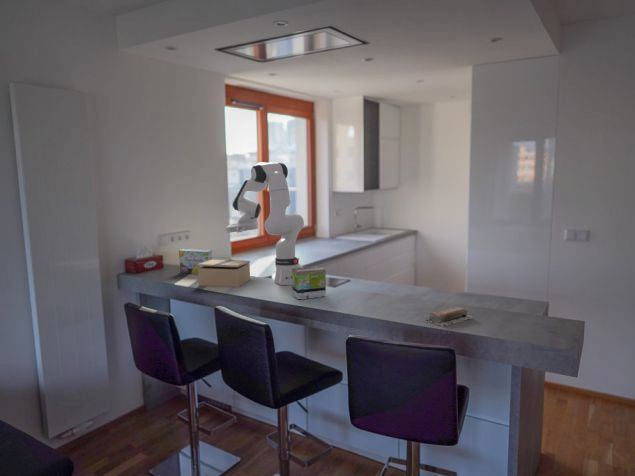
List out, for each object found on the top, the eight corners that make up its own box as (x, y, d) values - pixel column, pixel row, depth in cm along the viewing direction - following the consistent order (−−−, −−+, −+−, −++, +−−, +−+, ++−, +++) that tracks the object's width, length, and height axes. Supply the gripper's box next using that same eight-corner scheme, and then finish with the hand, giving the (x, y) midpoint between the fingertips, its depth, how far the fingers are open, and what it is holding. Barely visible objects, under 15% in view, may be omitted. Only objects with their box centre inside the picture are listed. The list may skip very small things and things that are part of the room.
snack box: (179, 273, 300) (178, 250, 298) (184, 271, 306) (183, 248, 303) (209, 274, 294) (207, 251, 292) (213, 272, 299) (212, 249, 297)
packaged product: (442, 316, 192) (425, 310, 200) (442, 328, 192) (425, 321, 201) (473, 309, 201) (455, 303, 209) (473, 320, 201) (455, 314, 210)
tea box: (298, 300, 234) (297, 271, 232) (292, 295, 243) (291, 267, 241) (326, 297, 239) (325, 268, 237) (319, 292, 249) (318, 265, 246)
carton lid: (250, 262, 278) (250, 260, 278) (237, 267, 260) (237, 265, 260) (212, 261, 284) (212, 259, 284) (197, 265, 266) (197, 263, 266)
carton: (250, 279, 280) (249, 263, 278) (238, 287, 262) (237, 269, 261) (213, 277, 285) (212, 261, 284) (199, 285, 268) (198, 268, 266)
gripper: (228, 221, 302) (221, 228, 290) (258, 217, 299) (253, 224, 286) (230, 230, 305) (224, 237, 292) (260, 226, 301) (255, 234, 288)
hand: (239, 231), depth 289 cm, fingers closed
